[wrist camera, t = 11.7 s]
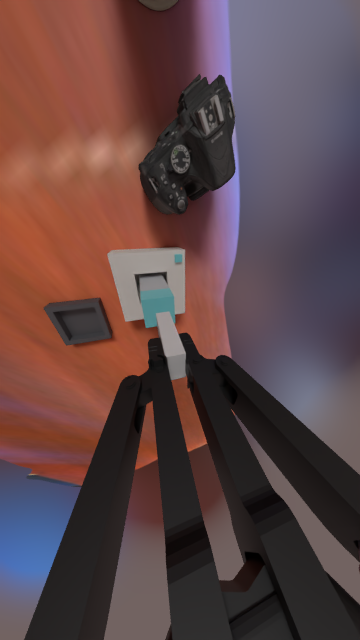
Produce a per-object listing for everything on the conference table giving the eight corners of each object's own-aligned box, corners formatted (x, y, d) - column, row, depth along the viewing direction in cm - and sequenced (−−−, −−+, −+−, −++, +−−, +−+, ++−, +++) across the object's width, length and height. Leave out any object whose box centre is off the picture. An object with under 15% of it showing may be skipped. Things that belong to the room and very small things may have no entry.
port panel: (127, 309, 31) (125, 322, 27) (112, 250, 25) (106, 254, 21) (179, 302, 34) (185, 313, 29) (177, 247, 27) (185, 250, 23)
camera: (184, 232, 27) (205, 233, 18) (133, 192, 22) (131, 169, 14) (229, 148, 22) (284, 99, 14) (177, 75, 17) (212, -63, 9)
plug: (142, 292, 29) (145, 327, 19) (139, 273, 27) (140, 300, 16) (161, 290, 30) (175, 323, 19) (159, 271, 28) (174, 296, 17)
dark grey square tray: (69, 339, 32) (66, 345, 30) (49, 303, 27) (43, 308, 25) (112, 332, 33) (111, 338, 32) (100, 297, 29) (98, 301, 27)
